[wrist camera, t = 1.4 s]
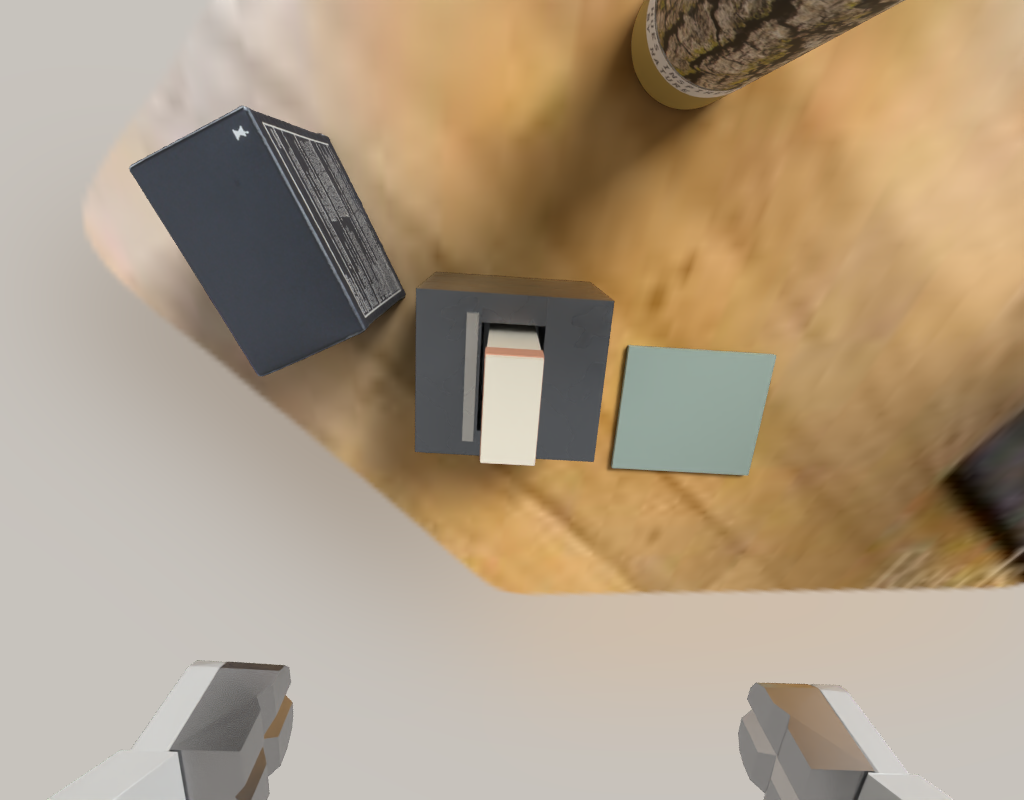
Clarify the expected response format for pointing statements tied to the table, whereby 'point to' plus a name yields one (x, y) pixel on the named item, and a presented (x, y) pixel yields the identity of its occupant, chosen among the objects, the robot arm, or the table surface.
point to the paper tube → (731, 42)
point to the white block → (511, 395)
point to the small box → (271, 235)
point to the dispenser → (461, 352)
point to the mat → (690, 409)
